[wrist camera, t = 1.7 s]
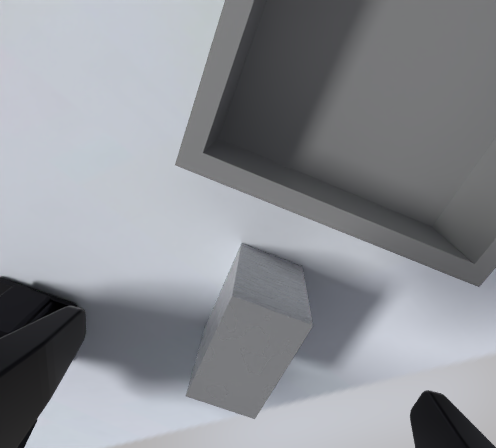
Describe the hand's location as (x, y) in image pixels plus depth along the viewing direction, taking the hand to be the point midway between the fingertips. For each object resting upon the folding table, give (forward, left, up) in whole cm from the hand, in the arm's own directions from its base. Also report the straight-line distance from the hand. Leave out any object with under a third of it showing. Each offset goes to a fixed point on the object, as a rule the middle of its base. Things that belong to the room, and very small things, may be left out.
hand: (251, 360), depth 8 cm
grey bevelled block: (-7, -2, -13) cm, 15 cm away
